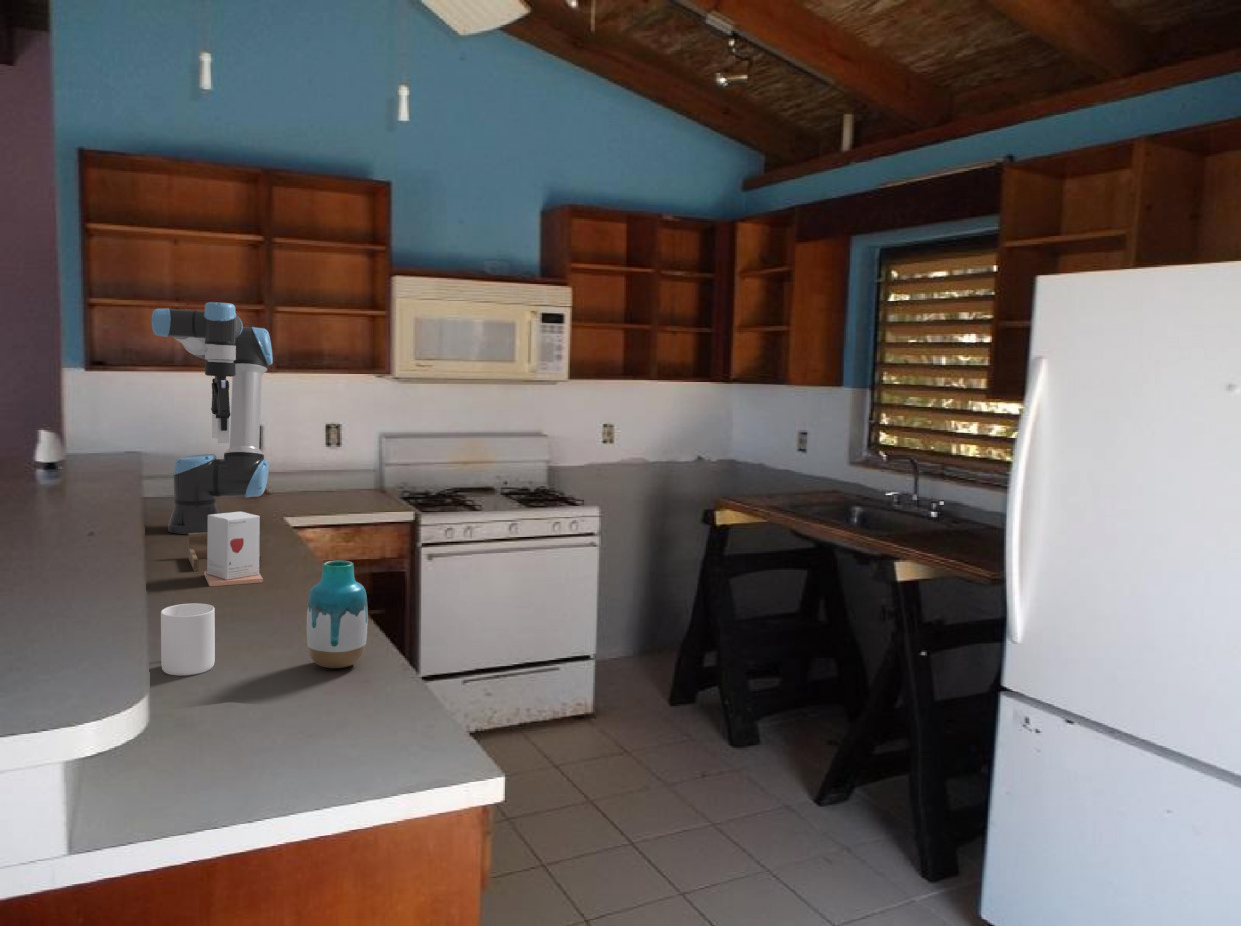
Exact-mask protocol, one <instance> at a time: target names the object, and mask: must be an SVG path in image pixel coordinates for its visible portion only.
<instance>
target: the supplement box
mask: <svg viewBox="0 0 1241 926" xmlns="http://www.w3.org/2000/svg"><path fill="white" fill-rule="evenodd" d="M260 517H261V516H260V515H256V514H252V513H249V512H245V511H242V510H241V511H240V510H239V511H234V512H233V511H232V512H222V513H221V512H220V513H219V514H211V515H208V541H207V558H206V559H207V560H206V561H207V562H206V563H207V565H206V567H207V570H206V571H207V574H210V575H213V576H216V577H219V578H222V579H225V580H229V579H235V578H241V577H247V576H253V575H259V573H260V567H259V554H260V519H261V518H260Z"/></svg>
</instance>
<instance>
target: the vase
mask: <svg viewBox="0 0 1241 926" xmlns="http://www.w3.org/2000/svg"><path fill="white" fill-rule="evenodd" d="M321 569H322V570H321V578H320V581H319V582H318V583H316V584H315V585H313V586H312V587H311V588H310V590H309V594H308V600H307V604H306V605H307V607H306V640H307V641H306V642H307V643H306V644H307V649H308V650H307V651H308V654H309V657H310V658H311V660H312V661H313V662H314V664H316V665H318V666H320V667H323V668H325V669H326V668H327V669H342V668H347V667H350V666H352V665H355V664H356V663H358V662H359V661H360V659H362V657H363V655H364V654H365V651H366V646H367V639H368V623H369V621H368V618H369V617H368V616H369V615H368V613H369V611H368V609H369V608H368V597H367V592H366V588H365V587H364V585H362V583H360V582H358V581H356V579H355V567H354V562H352V561H349V560H341V559H340V560H339V559H337V560H329V561H325V562H323V563H322V567H321Z"/></svg>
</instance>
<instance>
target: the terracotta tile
mask: <svg viewBox="0 0 1241 926" xmlns="http://www.w3.org/2000/svg"><path fill="white" fill-rule="evenodd" d="M204 577H205V579H206V582H207V584H208V586H209V587H220V586H235V585H245V584H246V585H248V584H259V583H261V584H262V583H264V578H263V576H262V574H261V573H260V572H259V575H253V576H247V577H241V578H235V579H229V580H225V579H222V578H219V577H216V576H213V575H210V574H207V570H204Z"/></svg>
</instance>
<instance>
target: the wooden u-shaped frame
mask: <svg viewBox="0 0 1241 926" xmlns="http://www.w3.org/2000/svg"><path fill="white" fill-rule="evenodd" d="M187 535H188V544H187V545H188V560H189V562H190V566H191V567H192V570H193V572H199V559H207V541H208V532H201V533H188V534H187ZM261 567H262V554H260V553H259V568H261Z"/></svg>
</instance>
